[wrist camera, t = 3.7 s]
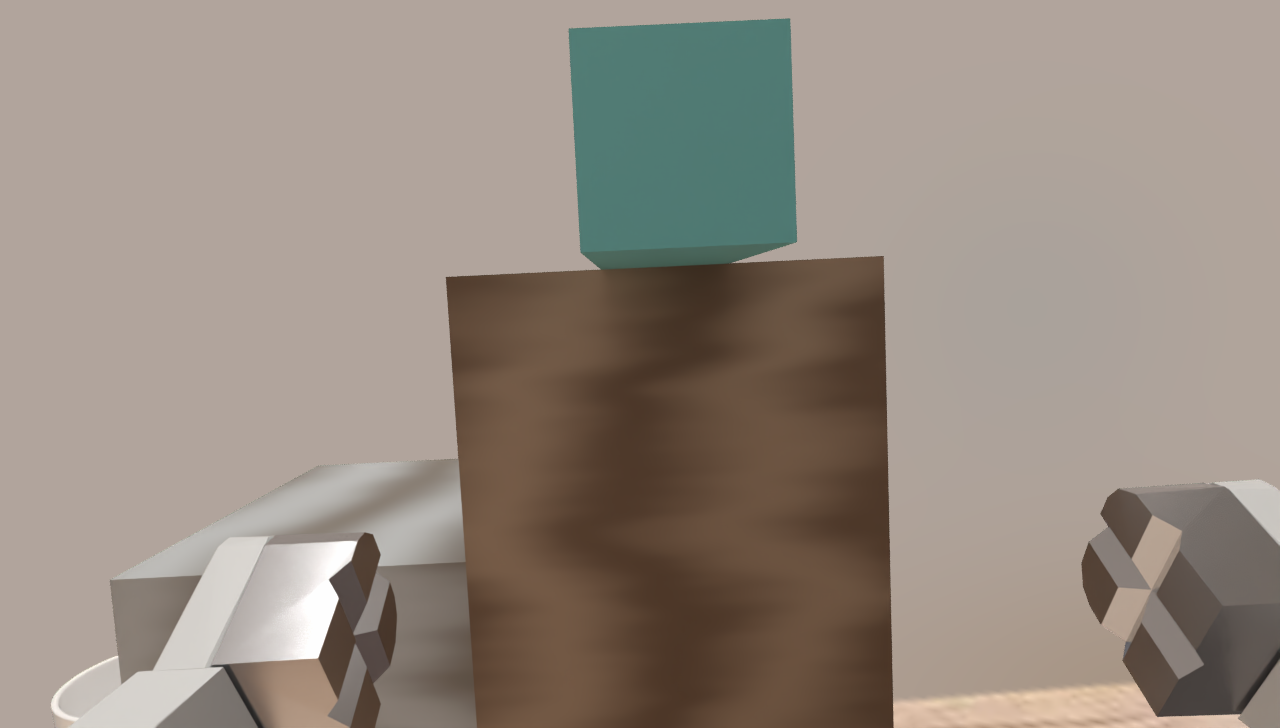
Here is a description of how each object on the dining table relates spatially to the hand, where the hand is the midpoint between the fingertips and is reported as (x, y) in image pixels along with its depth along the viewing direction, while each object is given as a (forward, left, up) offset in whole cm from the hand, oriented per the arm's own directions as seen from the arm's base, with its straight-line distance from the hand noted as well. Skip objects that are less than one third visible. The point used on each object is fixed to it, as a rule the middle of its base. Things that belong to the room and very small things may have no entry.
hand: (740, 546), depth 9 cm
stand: (+5, -21, -22) cm, 31 cm away
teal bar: (0, -16, +4) cm, 17 cm away
